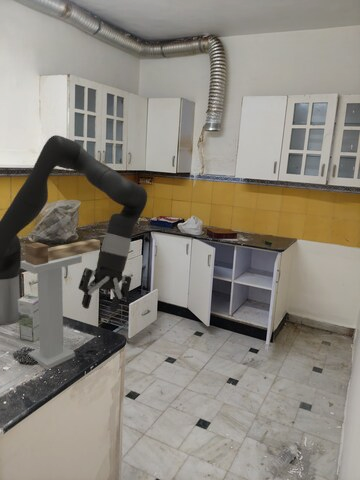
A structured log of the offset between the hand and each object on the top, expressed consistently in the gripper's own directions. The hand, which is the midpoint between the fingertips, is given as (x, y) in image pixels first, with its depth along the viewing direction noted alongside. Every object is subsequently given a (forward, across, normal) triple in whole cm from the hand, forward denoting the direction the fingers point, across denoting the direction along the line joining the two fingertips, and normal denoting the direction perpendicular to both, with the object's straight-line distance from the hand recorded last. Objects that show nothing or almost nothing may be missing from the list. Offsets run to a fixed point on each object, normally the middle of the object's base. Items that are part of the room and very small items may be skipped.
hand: (99, 309), depth 104 cm
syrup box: (+20, +1, -36) cm, 42 cm away
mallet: (-11, +5, -19) cm, 23 cm away
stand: (+21, 0, -21) cm, 30 cm away
